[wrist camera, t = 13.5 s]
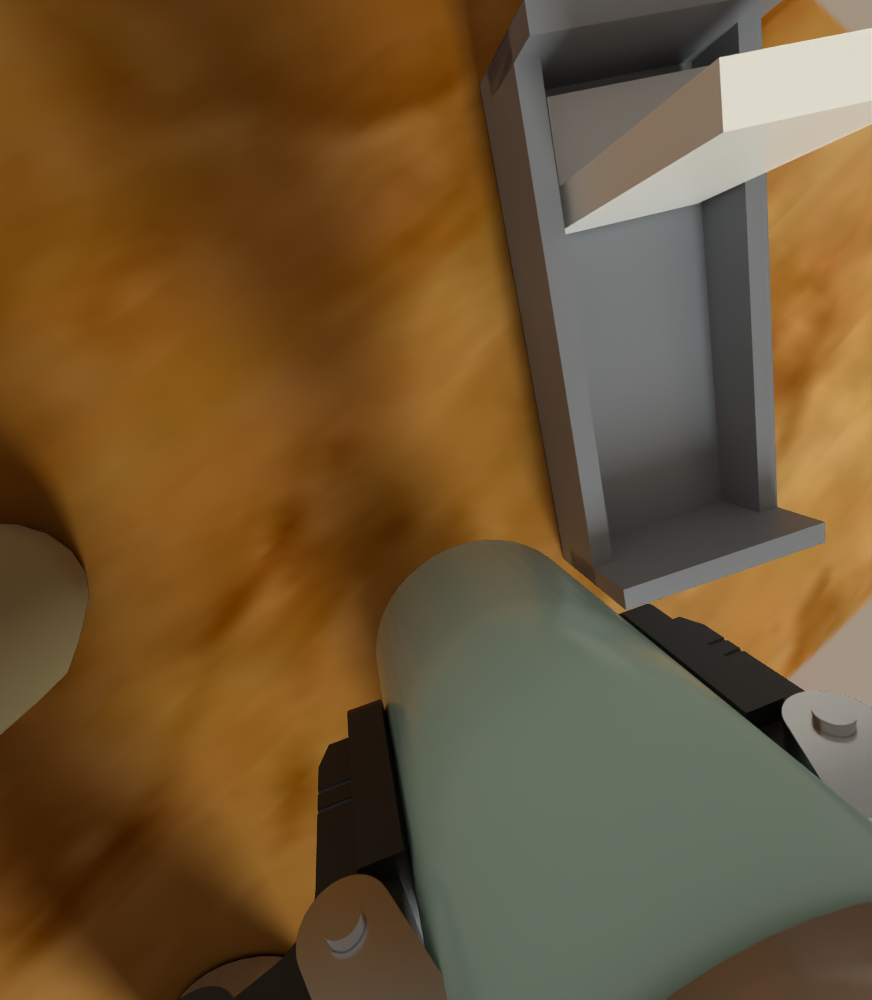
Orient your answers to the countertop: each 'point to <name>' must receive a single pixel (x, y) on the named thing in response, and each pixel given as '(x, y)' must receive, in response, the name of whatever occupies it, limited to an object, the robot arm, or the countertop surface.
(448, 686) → the jar
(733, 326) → the gray rectangular tray
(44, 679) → the squeeze bottle
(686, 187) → the pusher
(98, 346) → the countertop surface
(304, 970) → the robot arm
